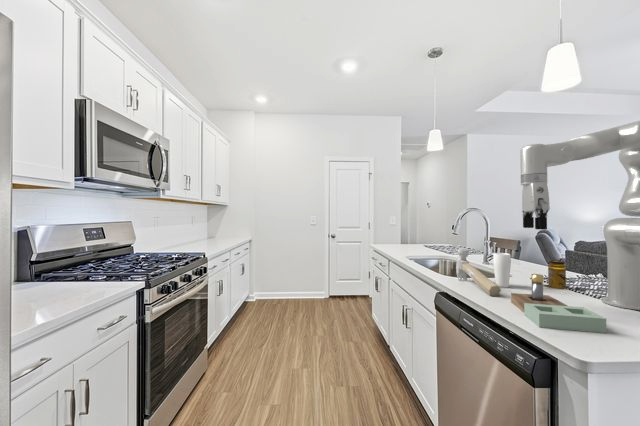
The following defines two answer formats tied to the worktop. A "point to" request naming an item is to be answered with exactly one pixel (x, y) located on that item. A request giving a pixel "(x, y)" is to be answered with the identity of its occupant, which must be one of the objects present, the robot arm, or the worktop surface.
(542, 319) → the frame
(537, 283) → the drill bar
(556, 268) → the condiment
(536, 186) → the robot arm
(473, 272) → the hammer
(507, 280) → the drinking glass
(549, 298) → the socket block
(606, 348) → the worktop surface
